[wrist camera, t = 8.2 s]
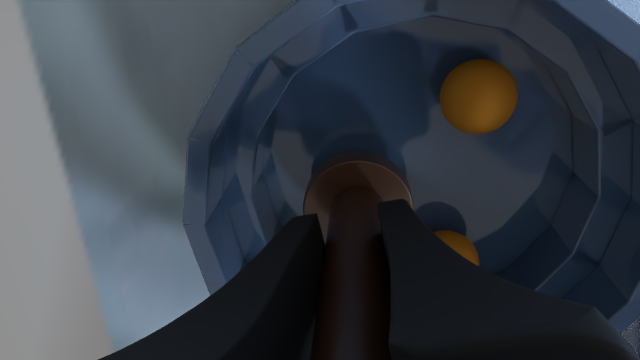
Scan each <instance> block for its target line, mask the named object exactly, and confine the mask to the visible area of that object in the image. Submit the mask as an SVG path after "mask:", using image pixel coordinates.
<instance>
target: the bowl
mask: <svg viewBox="0 0 640 360" xmlns="http://www.w3.org/2000/svg"><path fill="white" fill-rule="evenodd" d="M473 59H489V60H493V61H496V62H498V63H500V64H501V65H503V66H504V67H506V68H507V69H508V70H509V71H510V73H511V74H512V75H513V77H514V79H515V81H516V84H517V88H518V101H517V105H516V108H515V111H514V113H513V114H512V116H511V117H510V119H509V120H508V121H507V122H506V123H505V124H504V125H502V126H501V127H500V128H498V129H496V130H494V131H492V132H489V133H485V134H469V133H465V132H462V131H460V130H458V129H456V128H455V127H454V126H452V125H451V124H450V123H449V122H448V121H447V119H446V118H445V116H444V114H443V112H442V109H441V105H440V91H441V87H442V84H443V82H444V80H445V79H446V77H447V76H448V74H449V73H450V72H451V71H452V70H453V69H454V68H455V67H457V66H458V65H460V64H462V63H464V62H466V61H469V60H473ZM352 151H364V152H370V153H374V154H378V155H380V156H382V157H385V158H386V159H388V160H390V161H391V162H393V163H394V164H395V165H396V166H397V167H398V168H399V169H400V170H401V171H402V172H403V174H404V175H405V177H406V179H407V181H408V183H409V186H410V189H411V194H412V198H413V204H414V212H415V213H416V214H417V216H418V217H419V218H420V219H421V220H422V221H423V222H424V224H425V225H426V226H427V227H428V228H430V229H431V230H432V231H433V232H435V231H440V230H450V231H454V232H458V233H460V234H462V235H464V236H465V237H466V238H467V239H469V240H470V241H471V243H472V244H473V245H474V247H475V249H476V251H477V253H478V257H479V267H481V268H483V269H485V270H487V271H489V272H491V273H493V274H495V275H497V276H499V277H501V278H503V279H506V280H508V281H510V282H513V283H515V284H518V285H520V286H523V287H526V288H529V289H532V290H535V291H538V292H540V293H543V294H547V295H550V296H554V297H558V298H562V299H566V300H570V301H574V302H578V303H582V304H586V305H590V306H594V307H595V308H597V310H598V311H599V312H600V313H601V314H602V315H603V316H604V317H605V318H606V319H607V320H608V321H609V322H610V323H611V325H612V326H613V327H614V328H615V329H616V330H617V331H618V332H619V333H621V332H622V331H623V330H625V329H626V328H627V327H628V326H629V325H631V324H632V323H633V322H634V321H635V320H637V319H638V318H639V317H640V24H639V23H637V22H636V21H635V20H633V19H632V18H631V17H629V16H628V15H627V14H625V13H624V12H623V11H621V10H620V9H619V8H617V7H616V6H615V5H613V4H612V3H611V2H609V1H608V0H296V1H295V2H293V3H292V4H291V5H289V6H288V7H287V8H286V9H284V10H283V11H282V12H280V13H279V14H278V15H276V16H275V17H274V18H272V19H271V20H270V21H269V22H267V23H266V24H265V25H263V26H262V27H261V28H259V29H258V30H257V31H256V32H254V33H253V34H252V35H250V36H249V37H248V38H246V39H245V40H244V41H243V42H241V43H240V44H239V45H237V47H236V49H234V50H233V52H232V54H231V56H230V57H229V59H228V61H227V63H226V65H225V67H224V69H223V71H222V72H221V74H220V76H219V78H218V80H217V82H216V84H215V85H214V87H213V89H212V91H211V93H210V95H209V97H208V99H207V100H206V102H205V104H204V106H203V108H202V110H201V112H200V113H199V115H198V117H197V119H196V121H195V123H194V125H193V127H192V128H191V130H190V132H189V136H188V138H187V155H186V173H185V192H184V210H183V223H184V224H183V226H184V229H185V231H186V234H187V236H188V239H189V242H190V244H191V247H192V249H193V252H194V255H195V257H196V260H197V262H198V265H199V267H200V270H201V273H202V275H203V278H204V280H205V283H206V286H207V288H208V291H209V293H210V296H211V295H212V294H213V293H215V292H216V291H217V290H219V289H220V288H221V287H222V286H224V285H225V284H226V283H227V282H228V281H229V280H231V279H232V278H233V277H234V276H235V275H236V274H237V273H238V272H239V271H240V270H241V269H243V268H244V267H245V266H246V265H247V264H248V263H249V262H250V261H251V260H252V259H253V258H254V257H255V256H256V255H257V254H258V253H259V252H260V251H261V250H262V249H263V248H264V247H265V246H266V245H267V244H268V243H269V242H270V241H271V240H272V238H273V237H274V236H275V235H276V234H277V233H278V232H279V231H280V230H281V229H282V228H283V227H284V226H285V225H286V224H287V222H288V221H290V220H291V219H292V218H293V217H296V216H302V215H304V214H303V202H304V197H305V193H306V189H307V186H308V183H309V180H310V178H311V176H312V175H313V173H314V172H315V171H316V170H317V168H318V167H319V166H320V165H322V164H323V163H324V162H325V161H327V160H328V159H330V158H332V157H334V156H336V155H339V154H342V153H346V152H352Z"/></svg>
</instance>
